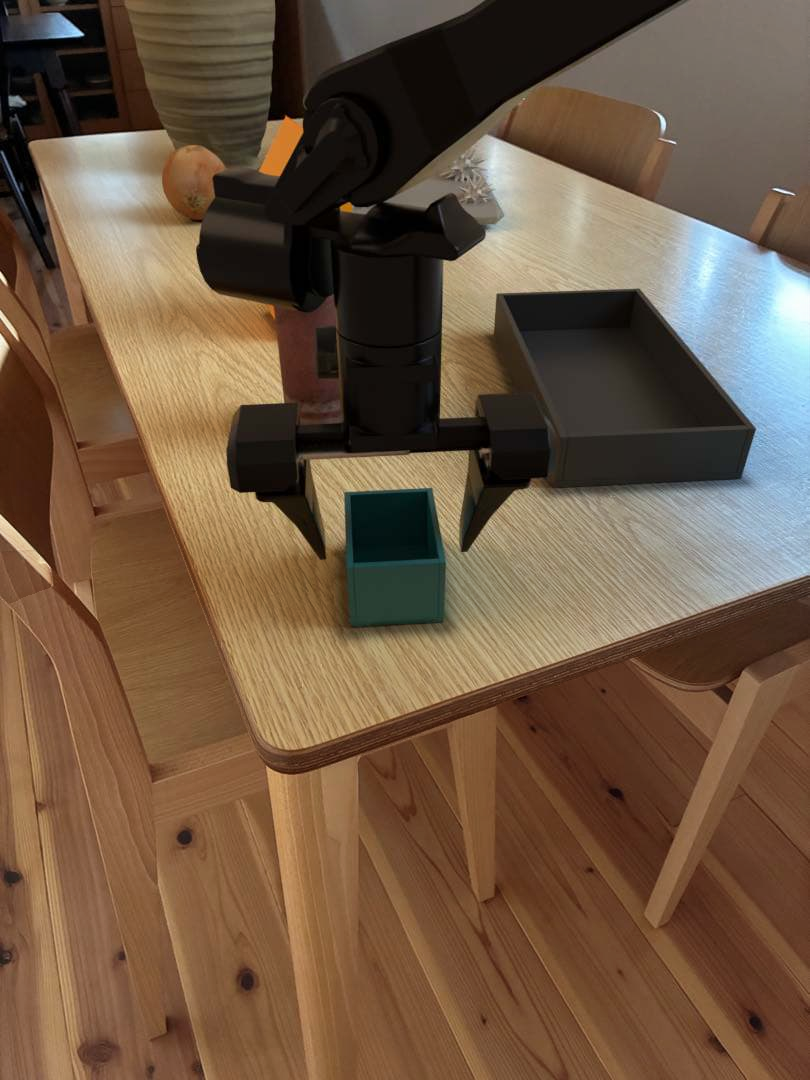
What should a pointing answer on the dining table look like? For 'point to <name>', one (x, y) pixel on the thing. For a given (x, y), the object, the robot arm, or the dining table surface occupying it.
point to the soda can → (306, 364)
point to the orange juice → (286, 156)
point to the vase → (209, 71)
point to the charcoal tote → (619, 389)
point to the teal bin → (394, 557)
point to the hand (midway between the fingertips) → (393, 551)
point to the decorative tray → (454, 190)
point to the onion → (191, 180)
